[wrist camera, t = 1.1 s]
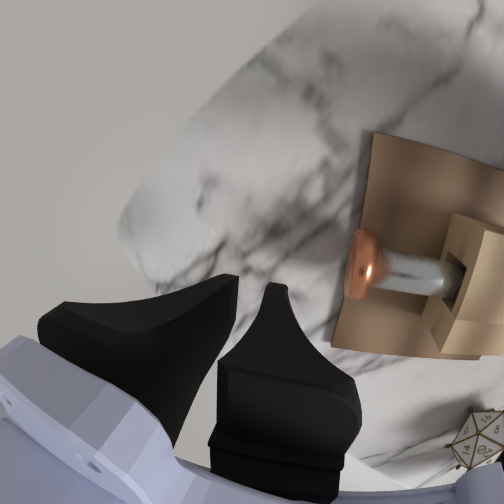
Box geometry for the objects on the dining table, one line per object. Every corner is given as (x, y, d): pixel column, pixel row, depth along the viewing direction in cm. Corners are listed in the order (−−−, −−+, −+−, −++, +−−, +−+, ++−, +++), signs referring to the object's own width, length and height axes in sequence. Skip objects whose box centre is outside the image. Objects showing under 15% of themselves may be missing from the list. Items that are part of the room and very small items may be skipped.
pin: (478, 247, 16) (507, 268, 12) (461, 299, 17) (483, 328, 13) (354, 221, 17) (363, 239, 14) (342, 280, 19) (345, 311, 15)
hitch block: (532, 186, 13) (573, 198, 8) (476, 356, 19) (496, 394, 14) (372, 133, 16) (391, 123, 11) (330, 342, 22) (329, 389, 17)
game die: (452, 403, 25) (418, 464, 19) (500, 371, 19) (475, 444, 14) (486, 437, 21) (457, 498, 15) (533, 411, 15) (513, 482, 9)
